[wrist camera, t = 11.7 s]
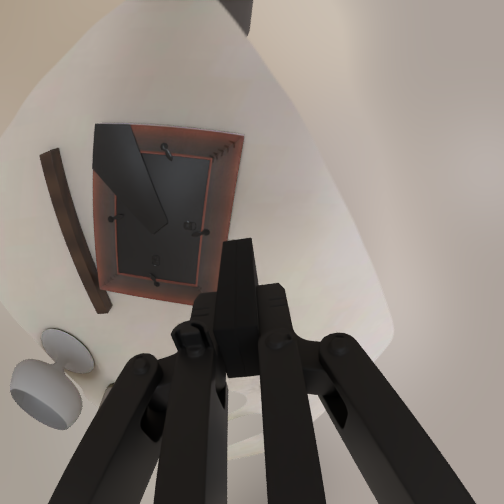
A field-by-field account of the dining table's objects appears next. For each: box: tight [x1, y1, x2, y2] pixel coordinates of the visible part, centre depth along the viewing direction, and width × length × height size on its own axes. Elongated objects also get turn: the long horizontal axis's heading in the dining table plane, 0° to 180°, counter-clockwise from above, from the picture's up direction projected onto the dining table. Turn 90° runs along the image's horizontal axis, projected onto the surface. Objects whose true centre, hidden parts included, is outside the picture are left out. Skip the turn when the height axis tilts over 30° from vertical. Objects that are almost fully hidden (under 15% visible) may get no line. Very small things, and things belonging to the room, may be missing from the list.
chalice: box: [10, 329, 94, 430], centre depth 38 cm, size 14×14×15 cm
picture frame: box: [92, 123, 244, 305], centre depth 32 cm, size 16×2×22 cm
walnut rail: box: [40, 148, 112, 314], centre depth 33 cm, size 24×2×2 cm, turn 8°
